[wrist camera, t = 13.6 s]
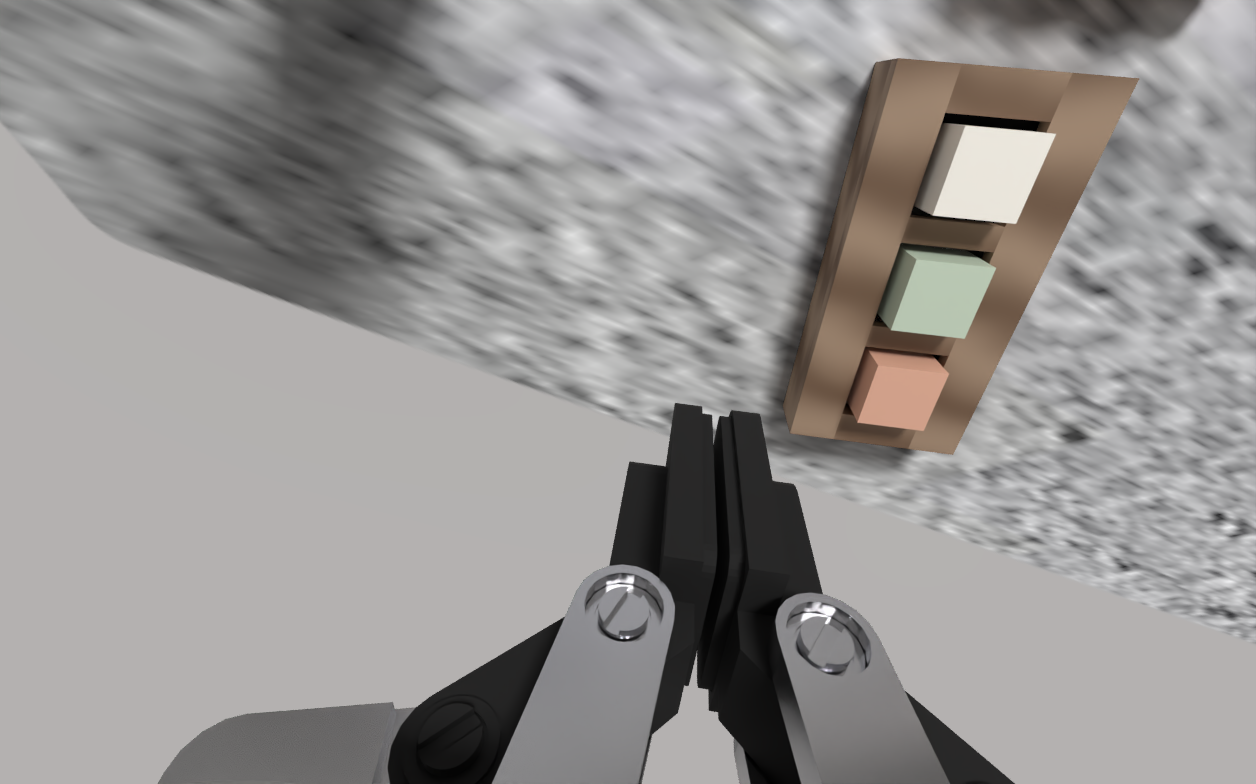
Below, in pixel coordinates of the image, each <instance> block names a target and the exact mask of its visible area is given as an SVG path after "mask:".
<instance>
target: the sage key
mask: <svg viewBox="0 0 1256 784" xmlns="http://www.w3.org/2000/svg"><path fill="white" fill-rule="evenodd" d="M995 270H996V268H995V267H994V266H992V265H990V264H988V263H987V262H985V261H983V260H982V259H980V258H978V257H976V256H975V255H973V254H971V253H970V252H968V251H966V250H959V249H950V248H940V247H931V246H922V245H912V244H903V243H901V244H900V246H899V249H898V252H897V255H896V258H895V261H894V264H893V267H892V270H891V273H890V276H889V279H888V282H887V284H886V287H885V290H884V293H883V296H882V299H881V302H880V305H879V308H878V311H877V314H878V315H879V316H880V317H881V319H882V320H883V321H884V322H885V323H886V325H887V326H888V327H889V328H890V330H894V331H902V332H911V333H919V334H928V335H936V336H945V337H954V338H962V339H965V337H966V335H967V332H968V330H969V328H970V326H971V324H972V321H973V319H974V317H975V315H976V312H977V310H978V308H979V306H980V303H981V301H982V299H983V297H984V294H985V292H986V290H987V288H988V285H989V283H990V281H991V279H992V276H993V274H994V272H995Z"/></svg>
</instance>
